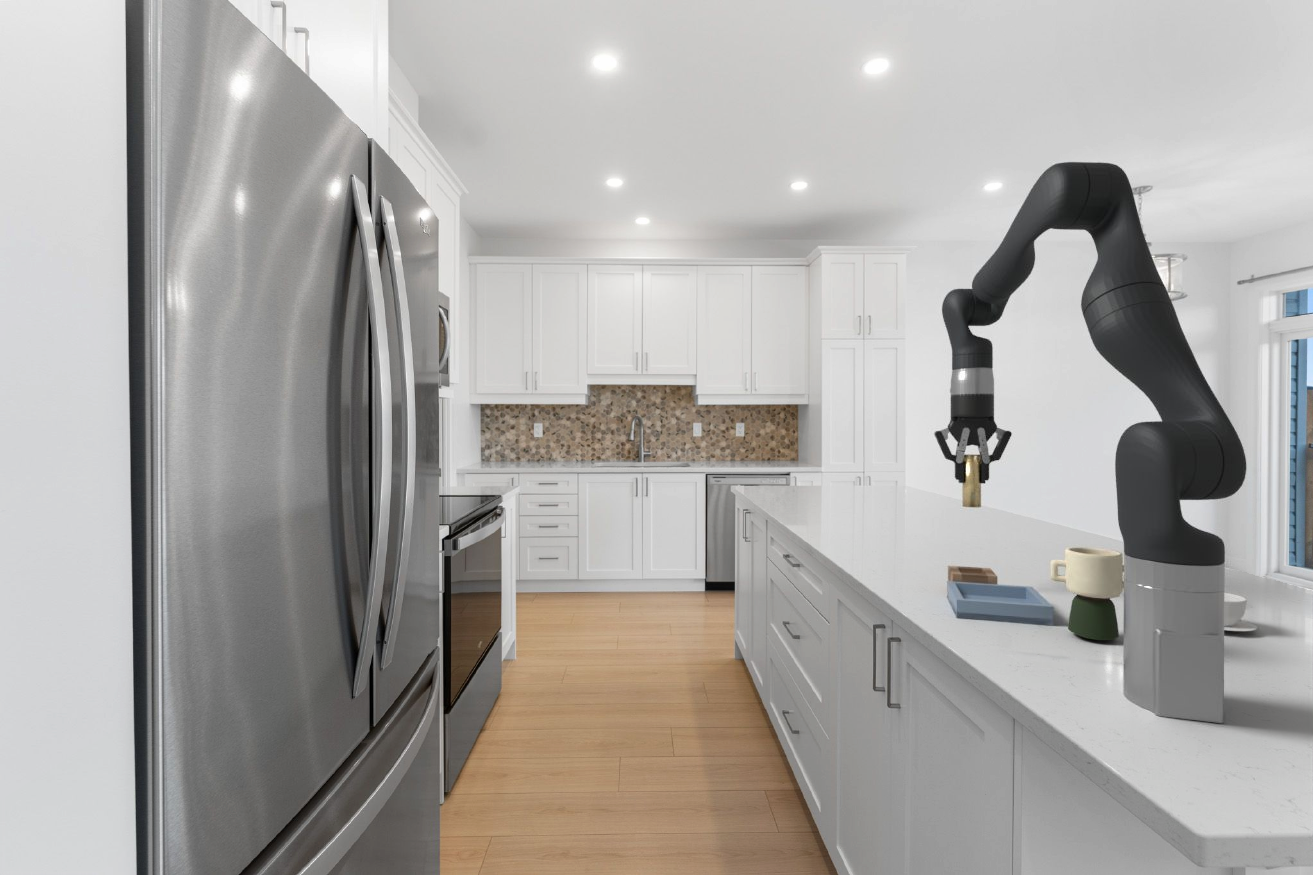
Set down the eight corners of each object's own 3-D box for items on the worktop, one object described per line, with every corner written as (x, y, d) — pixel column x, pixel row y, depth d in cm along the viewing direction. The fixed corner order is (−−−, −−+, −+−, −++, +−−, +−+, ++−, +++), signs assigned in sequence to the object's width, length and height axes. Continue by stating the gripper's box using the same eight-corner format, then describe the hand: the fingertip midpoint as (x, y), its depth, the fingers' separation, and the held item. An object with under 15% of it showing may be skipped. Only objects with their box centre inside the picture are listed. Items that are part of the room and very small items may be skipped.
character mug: (1135, 637, 97) (1135, 550, 96) (1141, 651, 90) (1142, 558, 90) (1049, 625, 102) (1050, 544, 102) (1050, 638, 96) (1050, 551, 96)
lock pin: (981, 507, 122) (981, 454, 122) (963, 507, 123) (963, 454, 123) (980, 506, 125) (979, 454, 125) (961, 505, 126) (961, 454, 126)
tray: (1053, 625, 102) (1053, 606, 102) (956, 617, 107) (956, 599, 107) (1032, 603, 116) (1032, 586, 116) (946, 597, 120) (946, 581, 120)
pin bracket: (997, 597, 119) (997, 576, 119) (952, 594, 122) (952, 573, 122) (990, 588, 126) (990, 568, 126) (947, 585, 129) (947, 565, 129)
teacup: (1261, 638, 96) (1262, 607, 96) (1176, 626, 102) (1176, 597, 102) (1252, 622, 104) (1253, 593, 104) (1174, 612, 110) (1174, 585, 110)
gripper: (934, 392, 122) (934, 483, 122) (1017, 391, 118) (1017, 485, 118) (930, 395, 129) (930, 480, 130) (1009, 393, 125) (1008, 482, 125)
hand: (971, 482), depth 124 cm, fingers closed on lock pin, 3 cm apart
